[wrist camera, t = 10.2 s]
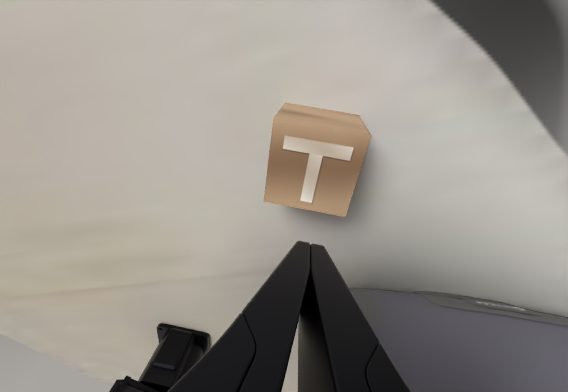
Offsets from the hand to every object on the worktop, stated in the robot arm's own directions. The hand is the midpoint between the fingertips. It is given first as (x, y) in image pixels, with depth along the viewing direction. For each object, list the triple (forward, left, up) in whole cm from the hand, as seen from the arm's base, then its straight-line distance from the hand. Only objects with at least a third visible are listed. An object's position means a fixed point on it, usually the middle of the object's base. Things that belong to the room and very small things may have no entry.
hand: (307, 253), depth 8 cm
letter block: (0, 0, -12) cm, 12 cm away
